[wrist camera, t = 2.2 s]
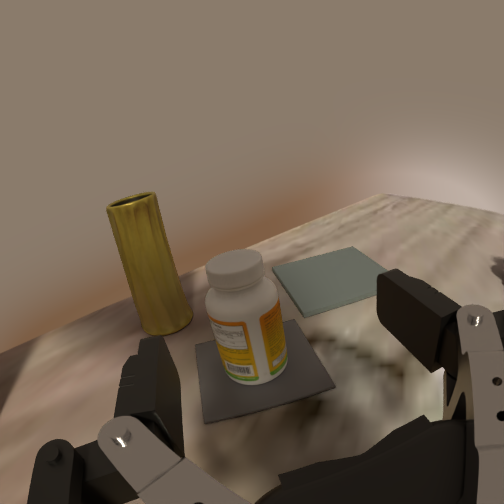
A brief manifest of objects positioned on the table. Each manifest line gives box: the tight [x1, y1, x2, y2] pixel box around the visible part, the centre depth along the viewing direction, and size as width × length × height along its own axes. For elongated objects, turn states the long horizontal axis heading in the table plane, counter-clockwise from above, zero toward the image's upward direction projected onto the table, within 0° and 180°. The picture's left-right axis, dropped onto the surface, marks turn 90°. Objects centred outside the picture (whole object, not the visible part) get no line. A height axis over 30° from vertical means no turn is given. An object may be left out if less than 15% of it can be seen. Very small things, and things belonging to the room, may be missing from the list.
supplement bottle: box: [205, 249, 288, 385], centre depth 24 cm, size 5×5×10 cm
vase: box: [106, 192, 193, 336], centre depth 32 cm, size 6×6×14 cm
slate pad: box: [272, 246, 387, 318], centre depth 37 cm, size 12×12×1 cm
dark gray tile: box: [195, 319, 335, 424], centre depth 26 cm, size 10×10×1 cm
